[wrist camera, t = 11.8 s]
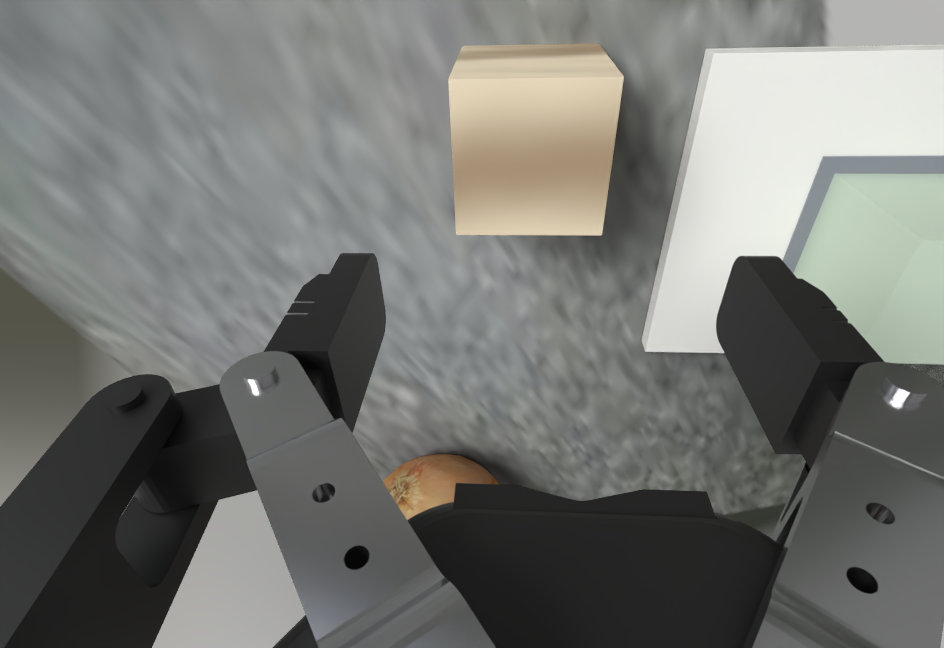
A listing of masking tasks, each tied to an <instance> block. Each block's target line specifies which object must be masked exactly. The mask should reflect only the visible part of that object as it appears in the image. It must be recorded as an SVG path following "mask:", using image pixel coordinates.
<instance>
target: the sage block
mask: <svg viewBox="0 0 944 648" xmlns="http://www.w3.org/2000/svg"><path fill="white" fill-rule="evenodd" d="M793 274H794V275H795V276H796V278H797V279H803V280H805V281H807V282H808V283H810V284H812V285H813V286H815V287H816V288H818V289H820V290H821V291H823V292H824V293H825V294H826V295H827V296H828V297H829V299H830V300H831V301H832V302H833V303H834V304H835V305H836V307H837V310H840V311H841V312H842V313H843V315H844V316H845V317H846V318H847V319H848V323H851V324H852V325H853V326H854V327H855V328H856V330H857V331H858V332H859V333H860V334H861V335H862V336H863V338H864V339H865V340H866V341H867V342H868V343H869V344H870V346H871V347H872V348H873V349H874V350H875V351H876V352H877V354H878V355H879V356H880V357H881V358H882V359H883V360H884V362H889V363H905V364H944V174H834V177H833V179H832V181H831V184H830V186H829V189H828V191H827V194H826V196H825V198H824V201H823V203H822V206H821V208H820V210H819V213H818V215H817V218H816V220H815V222H814V225H813V227H812V230H811V232H810V234H809V237H808V239H807V242H806V244H805V247H804V249H803V251H802V254H801V256H800V259H799V261H798V263H797V266H796V268H795V271H794V273H793Z"/></svg>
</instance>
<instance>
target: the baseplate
mask: <svg viewBox="0 0 944 648" xmlns="http://www.w3.org/2000/svg"><path fill="white" fill-rule="evenodd" d="M834 174H944V45H942V44H941V45H889V46H887V45H885V46H829V47H773V48H716V49H706V51H705V55H704V60H703V64H702V69H701V74H700V78H699V83H698V87H697V92H696V96H695V101H694V105H693V110H692V114H691V119H690V123H689V128H688V132H687V137H686V141H685V146H684V150H683V155H682V160H681V164H680V169H679V173H678V178H677V182H676V187H675V191H674V196H673V200H672V205H671V209H670V214H669V218H668V223H667V227H666V232H665V237H664V241H663V246H662V250H661V255H660V259H659V264H658V268H657V273H656V277H655V282H654V286H653V291H652V295H651V300H650V304H649V309H648V314H647V318H646V323H645V327H644V332H643V336H642V343H643V346H644V350H645V352H692V353H724V351H723V349H722V347H721V345H720V343H719V341H718V338H717V332H716V319H717V314H718V311H719V307H720V304H721V301H722V298H723V295H724V291H725V288H726V285H727V282H728V279H729V275H730V272H731V269H732V266H733V264H734V261H735V260H736V259H737V258H738V257H739V256H778V257H780V258H781V259H782V261H783V262H784V263H785V264H786V265H787V267H788V268H789V269H790V270H791V272H792V273H794V271H795V268H796V266H797V263H798V261H799V259H800V256H801V254H802V251H803V249H804V247H805V244H806V242H807V239H808V237H809V234H810V232H811V230H812V227H813V225H814V222H815V220H816V218H817V215H818V213H819V210H820V208H821V206H822V203H823V201H824V198H825V196H826V194H827V191H828V189H829V186H830V184H831V181H832V179H833V177H834Z"/></svg>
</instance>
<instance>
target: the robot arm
mask: <svg viewBox="0 0 944 648" xmlns="http://www.w3.org/2000/svg"><path fill="white" fill-rule="evenodd" d="M294 301H295V303H293V304H292V305H291V307H290V309H289V310H288V315H285V317H284V319H283V320H282V322H281V324H280V325H279V327H278V329H277V330H276V332H275V334H274V335H273V337H272V339H271V340H270V342H269V344H268V345H267V347H266V349H265V350H264V352H261V353H257V354H254V355H251V356H248V357H246V358H244V359H242V360H240V361H238V362H237V363H235V364H234V365H232V366H231V367H230V368H229V369H228V370H227V371H226V372H225V373H224V375H223V377H222V378H221V381H220V384H218V385H214V386H210V387H205V388H200V389H195V390H190V391H186V392H181V393H176V394H175V392H174V390H173V388H172V386H171V385H170V383H169V381H168V380H167V379H165V378H164V377H161V376H158V375H150V374H146V375H137V376H132V377H129V378H125V379H122V380H120V381H117V382H115V383H113V384H111V385H109V386H107V387H106V388H104V389H102V390H101V391H99V392H98V393H97V394H96V395H94V396H93V397H92V398H91V399H90V400H89V401H88V402H87V403H86V404H85V406H84V407H83V408H82V409H81V410H80V412H79V413H78V414H77V415H76V416H75V418H74V419H73V420H72V421H71V422H70V424H69V425H68V426H67V427H66V429H65V430H64V431H63V432H62V433H61V434H60V436H59V437H58V438H57V439H56V440H55V442H54V443H53V444H52V445H51V446H50V448H49V449H48V450H47V451H46V452H45V454H44V455H43V456H42V457H41V459H40V460H39V461H38V462H37V463H36V465H35V466H34V467H33V468H32V469H31V471H30V472H29V473H28V474H27V475H26V477H25V478H24V479H23V480H22V481H21V483H20V484H19V485H18V486H17V488H16V489H15V490H14V491H13V492H12V493H11V495H10V496H9V497H8V498H7V499H6V501H5V502H4V503H3V504H2V506H1V507H0V648H152V646H153V644H154V642H155V639H156V637H157V635H158V633H159V630H160V628H161V626H162V624H163V622H164V619H165V617H166V615H167V613H168V611H169V608H170V606H171V604H172V602H173V599H174V597H175V595H176V593H177V591H178V588H179V586H180V584H181V582H182V580H183V577H184V575H185V573H186V571H187V569H188V566H189V564H190V562H191V560H192V558H193V555H194V553H195V551H196V549H197V547H198V544H199V542H200V540H201V537H202V535H203V533H204V531H205V529H206V527H207V524H208V522H209V520H210V518H211V516H212V513H213V511H214V509H215V507H216V505H217V502H218V500H219V499H223V498H227V497H231V496H236V495H240V494H244V493H248V492H252V491H255V490H257V491H258V493H259V496H260V498H261V501H262V503H263V506H264V509H265V511H266V514H267V516H268V519H269V521H270V524H271V527H272V529H273V532H274V534H275V537H276V539H277V542H278V545H279V547H280V549H281V552H282V555H283V557H284V560H285V563H286V565H287V568H288V570H289V573H290V575H291V578H292V580H293V583H294V586H295V588H296V591H297V593H298V596H299V598H300V601H301V604H302V606H303V609H304V611H305V614H306V615H305V616H304V617H303V618H302V619H301V620H300V621H299V622H298V623H297V624H296V625H295V626H294V627H293V628H292V629H291V630H290V631H289V632H288V633H287V634H286V635H285V636H284V637H283V638H282V639H281V640H280V641H279V642H278V643H277V644H276V645H275V646H274V647H273V648H940V645H941V638H942V631H943V624H944V386H943V385H942V384H941V383H939V382H938V381H937V380H935V379H933V378H932V377H930V376H928V375H926V374H924V373H922V372H920V371H918V370H915V369H913V368H910V367H907V366H903V365H900V364H895V363H889V362H884V360H883V359H882V358H881V357H880V356H879V355H878V354H877V352H876V351H875V350H874V349H873V348H872V347H871V346H870V344H869V343H868V342H867V341H866V340H865V339H864V338H863V336H862V335H861V334H860V333H859V332H858V331H857V330H856V328H855V327H854V326H853V325H852V324H851V323H848V319H847V318H846V317H845V316H844V315H843V313H842V312H841V311H840V310H837V307H836V305H835V304H834V303H833V302H832V301H831V300H830V299H829V297H828V296H827V295H826V294H825V293H824V292H823V291H821V290H820V289H818V288H816V287H815V286H813V285H812V284H810V283H808V282H807V281H805V280H803V279H797V278H796V276H795V275H794V274H793V273H792V272H791V270H790V269H789V268H788V267H787V265H786V264H785V263H784V262H783V261H782V259H781V258H780V257H778V256H739V257H738V258H737V259H736V260H735V261H734V264H733V266H732V269H731V272H730V275H729V279H728V282H727V285H726V288H725V291H724V295H723V298H722V301H721V304H720V307H719V311H718V314H717V319H716V332H717V338H718V341H719V343H720V345H721V347H722V349H723V351H724V353H725V355H726V357H727V359H728V361H729V363H730V365H731V367H732V369H733V371H734V373H735V375H736V377H737V378H738V380H739V382H740V384H741V386H742V388H743V390H744V392H745V394H746V396H747V398H748V400H749V402H750V404H751V406H752V408H753V410H754V412H755V414H756V416H757V418H758V420H759V422H760V424H761V426H762V428H763V430H764V432H765V434H766V436H767V438H768V440H769V442H770V444H771V446H772V447H773V449H774V451H775V453H776V454H802V455H803V457H804V459H805V461H806V462H805V464H804V466H803V467H802V469H801V471H800V473H799V475H798V477H797V480H796V482H795V484H794V486H793V489H792V491H791V493H790V496H789V498H788V500H787V503H786V505H785V507H784V509H783V512H782V514H781V516H780V519H779V521H778V523H777V526H776V528H775V530H774V532H773V535H772V537H771V538H770V537H768V536H766V535H765V534H763V533H761V532H760V531H758V530H756V529H754V528H752V527H750V526H748V525H746V524H744V523H742V522H740V521H737V520H735V519H732V518H729V517H727V516H724V515H721V514H718V513H714V511H713V508H712V506H711V503H710V500H709V497H708V494H707V492H702V491H673V490H644V489H643V490H638V491H633V492H628V493H623V494H618V495H613V496H608V497H603V498H598V499H593V500H588V501H576V500H571V499H567V498H564V497H560V496H556V495H552V494H548V493H544V492H541V491H537V490H533V489H529V488H525V487H521V486H518V485H500V484H471V483H456V485H455V495H454V502H450V503H445V504H442V505H439V506H436V507H432V508H429V509H427V510H425V511H423V512H421V513H419V514H416V515H415V516H413V517H411V518H410V519H408V520H407V519H406V518H405V516H404V514H403V513H402V511H401V510H400V508H399V507H398V505H397V503H396V502H395V500H394V499H393V497H392V496H391V494H390V492H389V491H388V489H387V488H386V486H385V484H384V483H383V481H382V480H381V478H380V477H379V475H378V473H377V472H376V470H375V469H374V467H373V465H372V464H371V462H370V461H369V459H368V458H367V456H366V454H365V453H364V451H363V450H362V448H361V447H360V445H359V443H358V442H357V440H356V439H355V437H354V435H353V434H352V433H353V430H354V426H355V423H356V420H357V417H358V414H359V411H360V408H361V405H362V402H363V399H364V395H365V392H366V389H367V386H368V383H369V380H370V377H371V374H372V371H373V368H374V364H375V361H376V358H377V355H378V352H379V349H380V346H381V343H382V340H383V337H384V332H385V324H386V314H385V305H384V299H383V293H382V287H381V280H380V274H379V268H378V262H377V258H376V256H375V254H373V253H342V254H340V256H339V257H338V259H337V261H336V263H335V265H334V267H333V268H332V270H331V272H330V274H319V275H317V276H316V277H315V278H313V279H312V280H311V281H309V282H308V283H307V284H305V285H304V286H303V287H302V289H301V290H300V292H299V294H298V295H297V297H296V299H295V300H294ZM133 495H134V497H133ZM132 497H133V498H132ZM131 499H132V500H131ZM130 500H131V501H130ZM129 502H130V503H129ZM128 504H129V505H128ZM127 505H128V506H127ZM126 507H127V508H126ZM125 509H126V510H125ZM124 510H125V511H124ZM123 512H124V513H123ZM122 513H123V514H122ZM121 515H122V516H121ZM120 517H121V518H120Z"/></svg>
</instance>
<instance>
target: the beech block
mask: <svg viewBox="0 0 944 648" xmlns="http://www.w3.org/2000/svg"><path fill="white" fill-rule="evenodd" d="M448 80H449V100H450V120H451V140H452V160H453V180H454V200H455V220H456V235H602V231H603V224H604V217H605V210H606V203H607V195H608V188H609V181H610V174H611V167H612V159H613V152H614V145H615V138H616V131H617V123H618V116H619V109H620V102H621V95H622V87H623V80H624V76H623V75H622V74H621V72H620V71H619V70H618V68H617V67H616V66H615V64H614V63H613V62H612V60H611V59H610V58H609V56H608V55H607V54H606V52H605V51H604V50H603V48H602V47H601V46H600V44H599V43H595V44H543V45H490V46H462V49H461V51H460V53H459V56H458V58H457V60H456V63H455V65H454V67H453V70H452V72H451V75H450V77H449V79H448Z"/></svg>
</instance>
